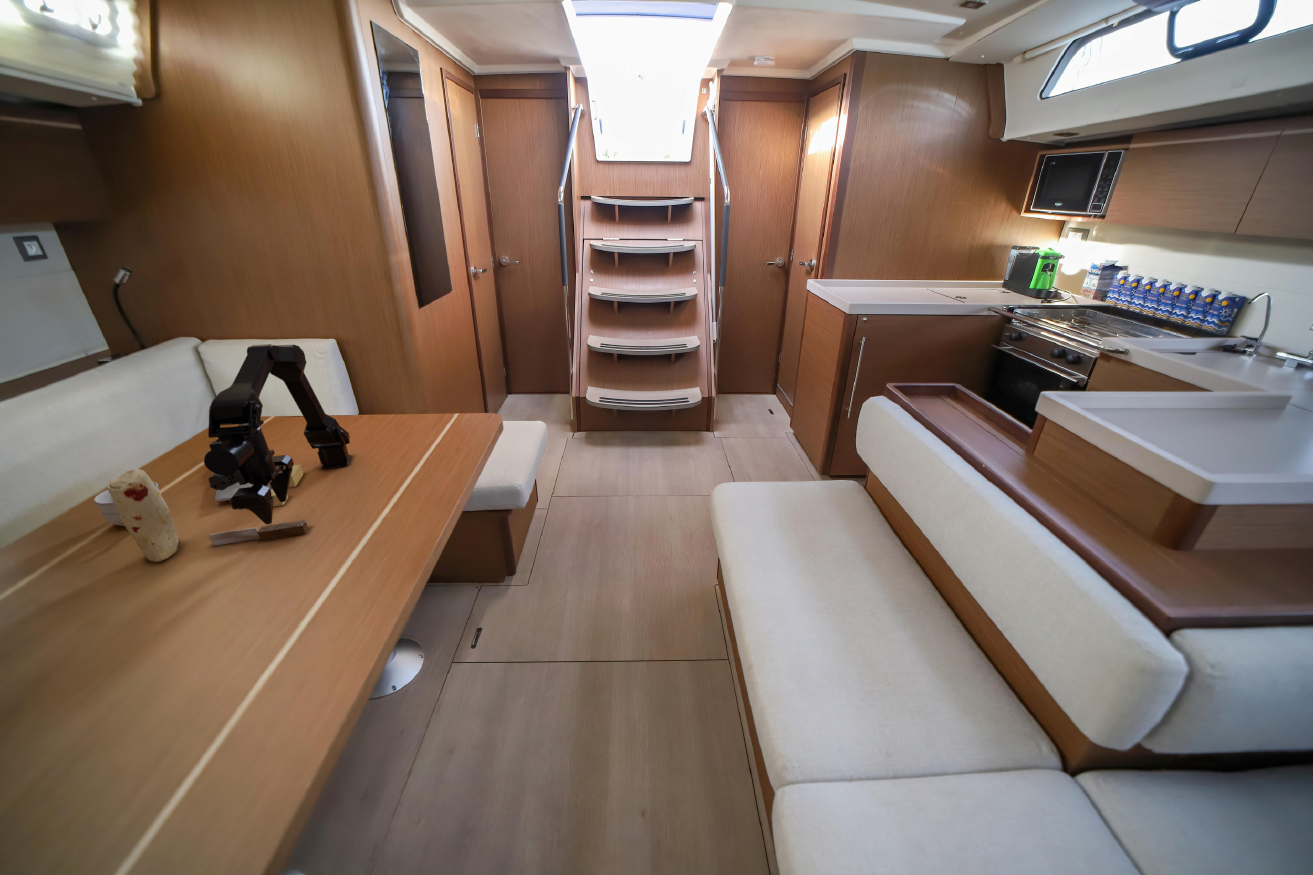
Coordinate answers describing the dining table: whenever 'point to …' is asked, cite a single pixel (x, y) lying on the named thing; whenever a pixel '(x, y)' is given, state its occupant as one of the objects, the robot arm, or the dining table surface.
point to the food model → (145, 514)
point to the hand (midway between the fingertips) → (276, 512)
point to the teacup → (110, 507)
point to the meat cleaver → (231, 491)
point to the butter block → (295, 475)
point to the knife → (260, 533)
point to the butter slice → (276, 499)
